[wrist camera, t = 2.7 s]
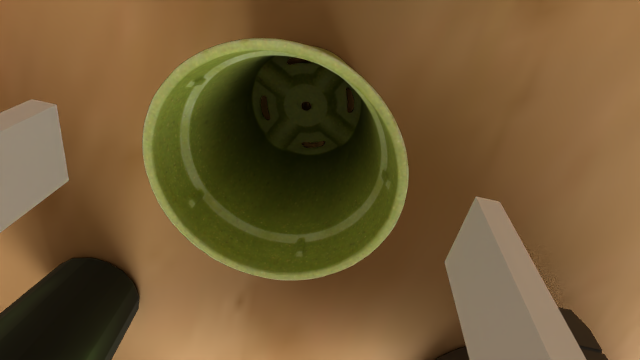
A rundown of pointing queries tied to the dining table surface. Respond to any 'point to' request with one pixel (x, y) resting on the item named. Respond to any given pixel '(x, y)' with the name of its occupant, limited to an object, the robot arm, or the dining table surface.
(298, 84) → the plant pot
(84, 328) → the potion bottle
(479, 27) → the dining table surface
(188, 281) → the dining table surface
